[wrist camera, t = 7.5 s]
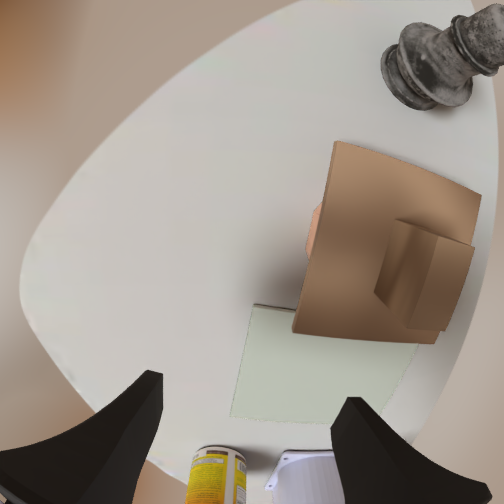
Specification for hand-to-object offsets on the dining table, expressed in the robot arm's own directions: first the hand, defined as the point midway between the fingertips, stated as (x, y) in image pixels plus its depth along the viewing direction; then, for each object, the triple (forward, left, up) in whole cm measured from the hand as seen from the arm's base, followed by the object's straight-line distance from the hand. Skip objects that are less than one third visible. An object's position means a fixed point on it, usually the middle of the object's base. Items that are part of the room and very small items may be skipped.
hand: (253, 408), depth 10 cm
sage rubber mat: (-5, -7, -9) cm, 13 cm away
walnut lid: (+6, -7, -6) cm, 11 cm away
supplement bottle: (-19, 0, -10) cm, 21 cm away
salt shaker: (+18, -8, -10) cm, 22 cm away
